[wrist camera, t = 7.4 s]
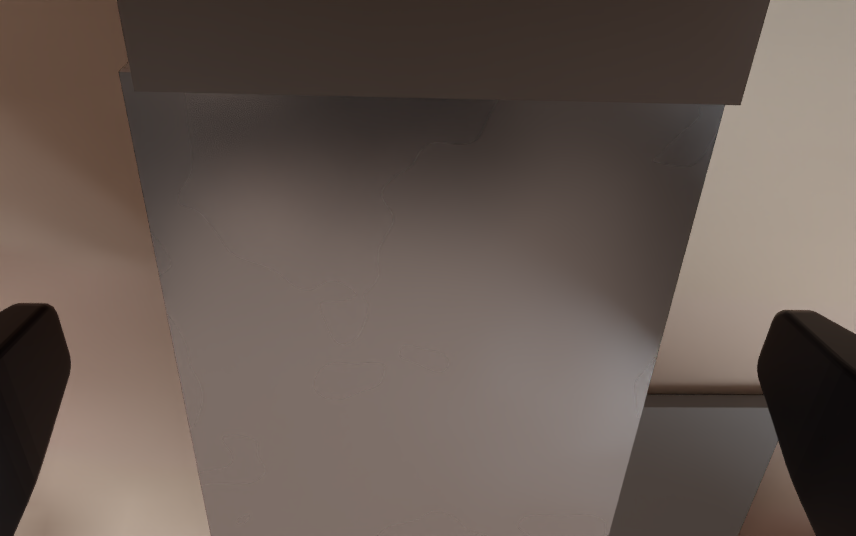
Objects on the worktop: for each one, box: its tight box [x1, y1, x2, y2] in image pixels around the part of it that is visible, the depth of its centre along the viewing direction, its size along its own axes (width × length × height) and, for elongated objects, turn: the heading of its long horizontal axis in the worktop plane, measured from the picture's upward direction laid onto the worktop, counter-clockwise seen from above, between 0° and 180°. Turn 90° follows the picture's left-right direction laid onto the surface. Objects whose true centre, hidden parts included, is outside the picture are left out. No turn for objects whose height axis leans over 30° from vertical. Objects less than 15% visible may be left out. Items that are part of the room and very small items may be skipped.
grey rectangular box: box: [119, 61, 725, 536], centre depth 10 cm, size 7×6×3 cm
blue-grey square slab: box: [609, 395, 778, 536], centre depth 18 cm, size 7×7×1 cm
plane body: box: [117, 0, 770, 105], centre depth 9 cm, size 13×4×7 cm, turn 178°
